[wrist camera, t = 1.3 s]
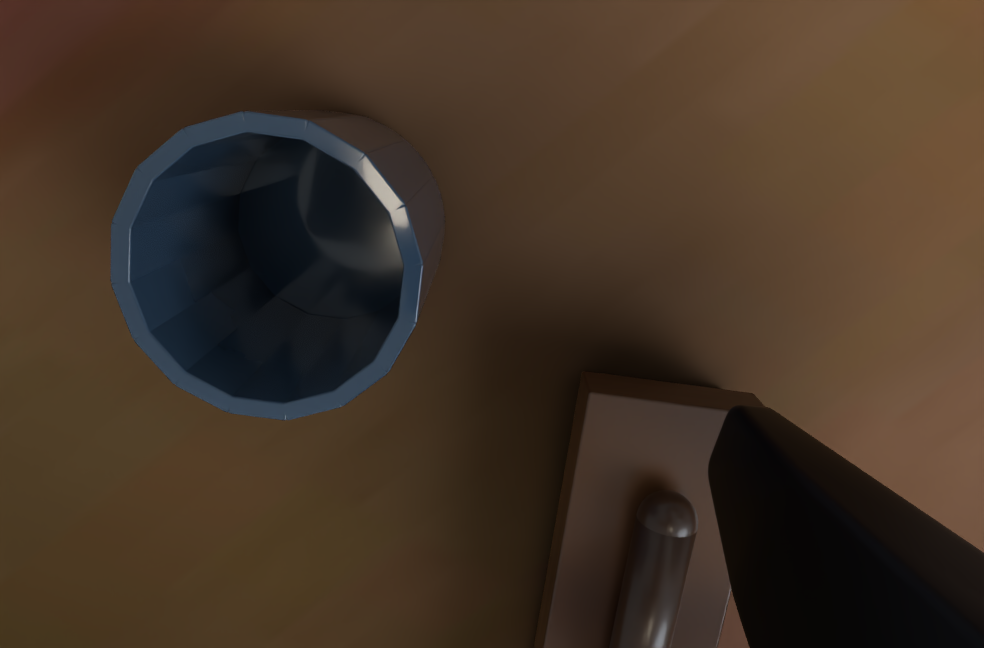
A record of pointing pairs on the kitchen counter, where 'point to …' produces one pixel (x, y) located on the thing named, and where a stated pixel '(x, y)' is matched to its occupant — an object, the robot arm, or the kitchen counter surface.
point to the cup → (277, 257)
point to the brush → (638, 519)
